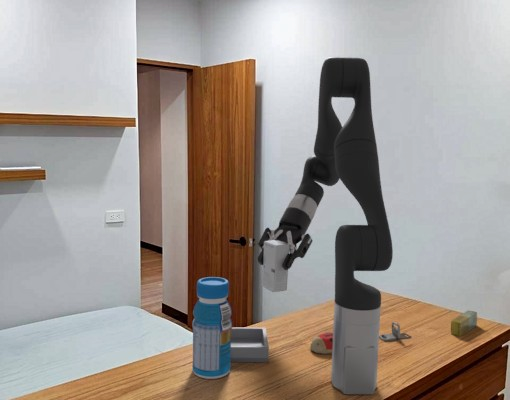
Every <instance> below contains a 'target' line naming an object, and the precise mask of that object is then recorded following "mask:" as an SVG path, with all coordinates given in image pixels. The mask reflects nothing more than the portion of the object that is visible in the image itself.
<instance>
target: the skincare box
mask: <svg viewBox="0 0 510 400" xmlns="http://www.w3.org/2000/svg"><path fill="white" fill-rule="evenodd" d="M289 246H290V245H289V244H287V243H285V242H282V241H279V240H270V241H264V256H263V265H262V277H261V278H262V280H261V286H262V287H263V288H265V289H266V290H268V291H270V292H271V293H279V292H285V291H287V290H288V280H289V279H288V277H289V269H288V270H284V268H283V267H282V264H283V262H284V260H285V258H286V256H287V254H290V252H289Z"/></svg>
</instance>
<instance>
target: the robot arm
mask: <svg viewBox="0 0 510 400" xmlns="http://www.w3.org/2000/svg"><path fill="white" fill-rule="evenodd" d="M371 88H372V87H371V73H370V68H369V64H368V62H367V60H365V59H364V58H362V57H361V58H360V57H341V56H330V57H327V58H326V59H324V61H323V63H322V66H321V70H320V77H319V90H318V104H317V105H318V109H317V112H318V114H317V129H316V135H315V140H314V146H313V155H310V156H309V157H308V158H307V159H306V160H305V163H304V166H303V172H302V173H303V174H302V178H301V182H300V185H299V187H298V188H297V190H296V192H295V193H294V195H293V197H292V199H291V200H290V201H289V203H288V205H287V207H286V209H285V211H284V212H283V215H282V216H281V218H280V220H279V224H278V226H277V227H276V228H275V229H270V227H266V228H265V230H264V231H263V233H262V236H261V238H260V239H259V242H258V243H257V245H258V247H259V248H260V249H261V251H260V253H259V255H258V257H257V262H258V264H259V265H260V266H263V256H264V241H270V240H279V241H282V242H285V243H287V244H289V245H290V246H289V254H287V256H286V258H285V260H284V262H283V264H282V267H283V268H284V270H288V271H289V270H290V269H291V268H292V267H293V264H294V262H295V260H297V259H298V258H300V259H303V258H305V256H306V255H307V252H308V250H309V249H310V247H311V245H312V243H313V238H312V236H311V235H310V233H307V231H308V229H309V227H310V225H311V224H312V221H313V219H314V217H315V214H316V213H317V209H318V208H319V205H320V204H321V201H322V200H323V197H324V194H325V192H324V191H325V190H324V188H323V187H322V186H321V185H324V186H327V187H333V186H334V185H336V184H337V183H338V182H339V181H341V182H342V184H343V185H344V186H345V188H346V189H347V190H348V191H349V192H350V194H351V195H352V196H353V198H354V199H355V200H356V201H357V203H358V204H359V206H360V208H361V210H362V211H363V214H364V216H365V220H366V223H367V224H343V225H341V226H339V227H338V229H337V231H336V234H335V241H334V263H335V265H334V267H335V271H334V273H335V274H334V303H333V305H334V306H333V311H334V312H333V328H332V329H333V330H332V333H333V347H332V353H331V377H330V378H331V379H330V381H331V385H332V386H333V387H334V388H336V389H337V390H339V391H341V392H342V394H344V395H374V394H375V391H376V389H377V381H378V364H379V361H378V360H379V346H380V345H379V342H380V338H379V336H380V325H381V324H380V322H381V309H382V308H381V306H382V294H381V291H380V290H379V289H378V288H376V287H374V286H372V285H369V284H366V283H364V282H362V281H360V280H358V279H356V277H355V272H383V271H384V272H385V271H387V270H388V269H389V268H390V267H391V265H392V261H393V255H394V254H393V251H394V250H393V241H392V235H391V230H390V225H389V221H388V216H387V212H386V207H385V202H384V197H383V190H382V189H383V188H382V181H381V174H380V173H381V172H380V163H379V161H380V160H379V152H378V147H377V146H378V145H377V141H376V133H375V126H374V119H373V112H372V111H373V110H372V89H371ZM333 98H341V99H342V98H345V99H346V98H347V99H348V98H349V99H350V98H351V99H353V101H354V105H353V109H352V111H351V113H350V115H349V117H348V119H346V121H345V122H344V125H342V123H341V121H340V119H339V117H338V116H337V114H336V111H335V110H334V107H333V104H332V103H333V102H332V100H333ZM320 184H321V185H320ZM297 244H299V246H297Z"/></svg>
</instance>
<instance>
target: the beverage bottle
mask: <svg viewBox="0 0 510 400" xmlns="http://www.w3.org/2000/svg"><path fill="white" fill-rule="evenodd" d="M229 285H230V283H229V280H228V279H226V278H223V277H218V276H217V277H216V276H208V277H202V278H199V279H198V280H197V282H196V296H197V298H199V299H198V300H197V301H196V303H195V305H194V306H193V311H192V315H193V317H194V318H193V320H192V323H191V324H192V325H191V327H192V372H193V374H194V375H195V376H196V377H199V378H201V379H206V380H215V379H221V378H223V377H225V376H227V375H228V374H230V372H231V362H230V354H231V328H232V327H233V321H232V318H231V316H232V315H233V313H232V312H233V311H232V307H231V305H230V302H229V301H228V300H227V298H228V297H229V293H230V292H229V291H230V290H229V288H230V286H229Z"/></svg>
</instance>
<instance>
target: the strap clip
mask: <svg viewBox="0 0 510 400" xmlns="http://www.w3.org/2000/svg"><path fill="white" fill-rule="evenodd" d="M411 338H412V336H411V335H409V334H408V333H404V332H402V333H401V326H400V324H399V323H398V322H395V321H392V322H391V333H383V334H379V340H381V341H383V342H392V341H397V339H398V340H407V339H411Z"/></svg>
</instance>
